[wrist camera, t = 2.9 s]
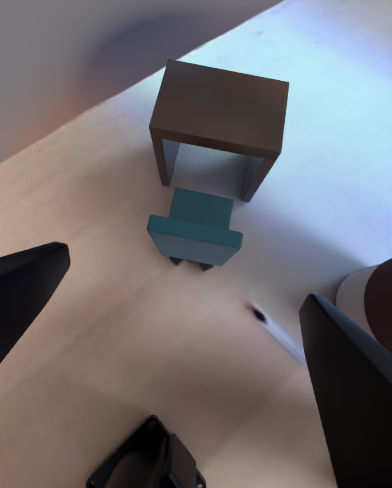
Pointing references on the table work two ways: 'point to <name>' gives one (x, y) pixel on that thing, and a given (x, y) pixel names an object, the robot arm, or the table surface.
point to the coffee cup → (369, 301)
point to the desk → (219, 118)
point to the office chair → (196, 230)
